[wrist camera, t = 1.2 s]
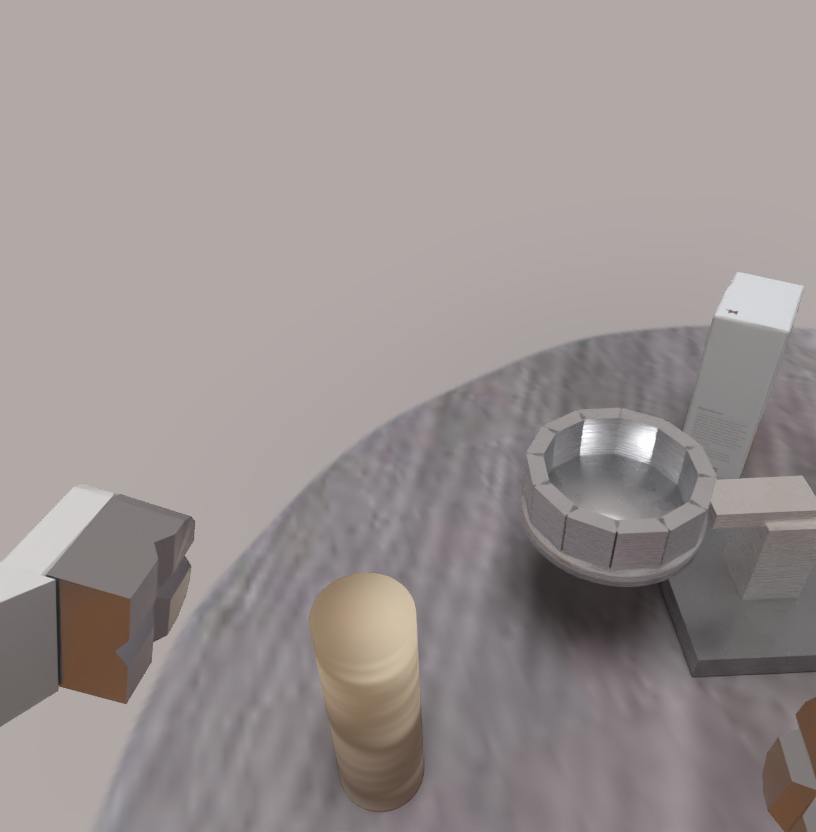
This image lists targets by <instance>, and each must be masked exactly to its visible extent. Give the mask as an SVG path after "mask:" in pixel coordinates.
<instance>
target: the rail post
mask: <svg viewBox="0 0 816 832" xmlns="http://www.w3.org/2000/svg"><path fill="white" fill-rule="evenodd" d="M309 625H310V631H311V636H312V641H313V646H314V651H315V656H316V661H317V666H318V670H319V675H320V680H321V685H322V690H323V695H324V700H325V705H326V710H327V715H328V720H329V725H330V729H331V734H332V739H333V744H334V749H335V754H336V759H337V764H338V769H339V774H340V779H341V783H342V786H343V788H344V790H345V792H346V794H347V795H348V797H349V798H350V799H351V800H352V801H353V802H354V803H355V804H357V805H358V806H360V807H362V808H364V809H367V810H370V811H375V812H385V811H390V810H394V809H396V808H399V807H401V806H403V805H404V804H406V803H407V802H408V801H409V800H410V799H411V798H412V797H413V796H414V795H415V794H416V792H417V791H418V789H419V787H420V785H421V783H422V779H423V775H424V755H423V736H422V717H421V698H420V679H419V660H418V640H417V621H416V608H415V604H414V601H413V599H412V596H411V595H410V593H409V592H408V590H407V589H406V588H405V587H404V586H403V585H402V584H400V583H399V582H397V581H396V580H394V579H392V578H390V577H388V576H385V575H381V574H377V573H356V574H351V575H348V576H345V577H342V578H340V579H338V580H336V581H334V582H332V583H331V584H330V585H328V586H327V587H326V588H325V589H324V590H322V592H321V593H320V594H319V595H318V596H317V598H316V599H315V601H314V603H313V605H312V608H311V611H310V616H309Z"/></svg>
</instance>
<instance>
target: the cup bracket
mask: <svg viewBox="0 0 816 832" xmlns="http://www.w3.org/2000/svg"><path fill="white" fill-rule="evenodd" d="M700 445H701V444H700V443H698V442H697V441H695V440H694V439H692V438H691V437H690V436H688V435H687V434H685V433H684V432H682V431H681V430H680V429H678V428H677V427H675V426H674V425H673V424H671V423H670V422H668V421H665V420H664V419H661V418H657V417H653V416H650V415H646V414H643V413H639V412H635V411H632V410H628V409H624V408H622V410H621V408H605V409H583V410H578V411H577V410H576V411H574V412H571V413H569V414H567V415H565V416H563V417H561V418H558V419H556V420H554V421H552V422H550V423H548V424H545V425H544V426H542V428H541V429H540V431H539V433H538V434H537V436H536V438H535V439H534V441H533V442H532V444H531V446H530V447H529V449H528V451H527V452H526V462H525V474H524V484H523V488H522V497H521V509H520V512H521V520H522V524H523V527H524V530H525V532H526V534H527V536H528V538H529V539H530V541H531V542H532V544H533V545H534V547H535V548H536V549H537V550H538V551H539V552H540V553H541V554H542V555H543V556H544V557H545V558H546V559H547V560H548V561H550V562H551V563H553V564H554V565H555V566H557V567H558V568H560V569H562V570H564V571H565V572H567V573H569V574H571V575H573V576H576V577H578V578H580V579H583V580H587V581H590V582H593V583H597V584H602V585H607V586H616V587H638V586H646V585H651V584H656V583H659V584H660V587H661V589H662V592H663V595H664V598H665V601H666V604H667V606H668V609H669V612H670V615H671V618H672V621H673V623H674V626H675V629H676V632H677V635H678V638H679V640H680V643H681V646H682V649H683V652H684V655H685V657H686V660H687V663H688V666H689V669H690V672H691V674H692V677H702V676H724V675H746V674H769V673H791V672H813V671H816V496H815V495H814V493H813V492H812V490H811V488H810V487H809V485H808V484H807V482H806V480H805V479H804V477H803V476H785V477H763V478H742V479H720V480H717V475H716V473H715V471H714V469H713V467H712V465H711V463H710V461H709V459H708V457H707V455H706V453H705V451H704V449H703V447H702V446H700Z"/></svg>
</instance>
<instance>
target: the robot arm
mask: <svg viewBox="0 0 816 832" xmlns="http://www.w3.org/2000/svg"><path fill="white" fill-rule="evenodd" d="M194 529H195V520H193V518H192V517H191V516H188V515H185V514H182V513H178V512H175V511H172V510H169V509H166V508H162V507H159V506H156V505H153V504H149V503H146V502H144V501H140V500H137V499H134V498H130V497H127V496H124V495H121V494H119V495H118V494H115V493H112V492H109V491H105V490H102V489H99V488H96V487H93V486H90V485H87V484H84V483H83V484H80V485H78V486H75V487H73V488H72V489H70V491H69V492H68V493H67V494H66V495H65V496H64V497H63V498H62V499H61V500H60V501H59V502H58V503H57V504H56V505H55V506H54V507H53V508H52V509H51V510H50V511H49V512H48V513H47V514H46V515H45V517H43V519H42V520H41V521H40V522H39V523H38V524H37V525H36V526H35V527H34V528H33V529H32V530H31V531H30V532H29V533H28V534H27V535H26V536H25V537H24V538H23V539H22V541H21V542H19V543H18V545H17V546H16V547H15V548H14V549H13V550H12V551H11V552H10V553H9V554H8V555H7V556H6V557H5V558H4V559H3V560H2V561H1V562H0V727H1V726H2V725H4V724H5V723H7V722H9V721H10V720H12V719H14V718H15V717H17V716H18V715H20V714H22V713H23V712H25V711H26V710H28V709H30V708H31V707H33V706H35V705H36V704H38V703H39V702H41V701H42V700H44V699H46V698H47V697H49V696H51V695H52V694H54V693H55V692H57V691H58V689H59V686H60V687H63V688H67V689H71V690H75V691H78V692H82V693H86V694H90V695H94V696H97V697H101V698H105V699H109V700H112V701H116V702H120V703H124V704H127V702H128V700H129V698H130V697H131V695H132V694H133V692H134V690H135V689H136V687H137V685H138V684H139V682H140V680H141V679H142V677H143V675H144V674H145V672H146V670H147V669H148V667H149V665H150V664H151V662H152V649H153V642H155V641H156V640H159V639H161V638H163V637H165V636H167V634H168V633H169V631H170V630H171V628H172V626H173V624H174V623H175V621H176V619H177V617H178V615H179V612H180V609H181V607H182V605H183V602H184V599H185V597H186V593H187V589H188V585H189V581H190V573H191V565H190V563H189V561H188V560H187V558H186V557H185V554H186V552H187V551H188V549H189V547H190V546H191V544H192V543H193V541H194ZM796 718H797V722H798V727H799V729H797V730H794V731H791V732H789V733H786V734H784V735H781V736H779V737H778V738H777V739H776V741H775V742H774V744H773V745H772V747H771V748H770V750H769V751H768V753H767V756H766V760H765V764H764V769H763V773H762V778H763V793H764V798H765V802H766V806H767V810H768V812H769V813H770V814H771V816H772V817H773V818H774V819H775V821H776V822H777V823H778V824H779V826H780V827H781V828H782V829H783V831H784V832H816V697H815V698H813V699H811V700H808V701H806V702H805V703H804V705H803V706H802V707H801V708H800V710H799V711H798V712H797V713H796Z"/></svg>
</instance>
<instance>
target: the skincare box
mask: <svg viewBox="0 0 816 832" xmlns="http://www.w3.org/2000/svg"><path fill="white" fill-rule="evenodd" d="M803 291H804V286H802V285H796V284H792V283H788V282H782V281H778V280H773V279H769V278H764V277H759V276H755V275H750V274H746V273H742V272H737V273H736V274H735V275H734V277H733V279H732V281H731V283H730V285H729V287H728V288H727V289H726V291H725V292H724V295H723V298H722V300H721V302H720V304H719V306H718V308H717V310H716V312H715V314H714V317H713V319H712V323H711V326H710V330H709V334H708V337H707V340H706V345H705V349H704V353H703V357H702V360H701V364H700V368H699V372H698V376H697V379H696V383H695V387H694V391H693V395H692V399H691V402H690V406H689V410H688V414H687V417H686V421H685V425H684V428H683V432H684V433H685V434H687V435H688V436H690V437H691V438H692V439H694V440H695V441H697V442H698V443H700V444H701V445H700V446H702V447H703V449H704V451H705V453H706V455H707V457H708V459H709V461H710V463H711V465H712V467H713V469H714V471H715V473H716V475H717V479H718V480H720V479H740V476H741V473H742V471H743V468H744V465H745V462H746V460H747V457H748V454H749V452H750V449H751V446H752V443H753V441H754V438H755V435H756V432H757V430H758V427H759V424H760V422H761V419H762V416H763V413H764V410H765V407H766V405H767V402H768V399H769V396H770V393H771V390H772V387H773V384H774V381H775V378H776V375H777V372H778V369H779V366H780V364H781V361H782V358H783V355H784V352H785V349H786V346H787V343H788V340H789V337H790V333H791V330H792V327H793V324H794V321H795V317H796V314H797V311H798V308H799V304H800V301H801V298H802V295H803Z"/></svg>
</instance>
